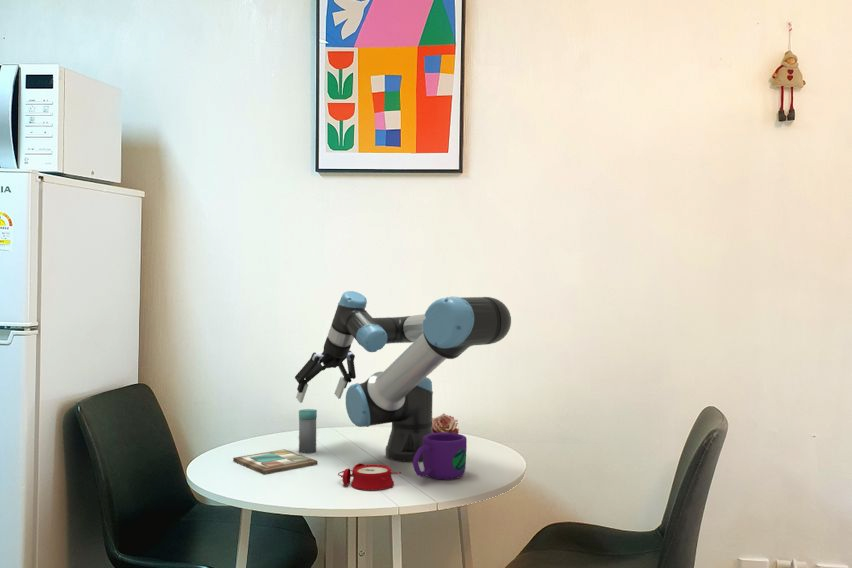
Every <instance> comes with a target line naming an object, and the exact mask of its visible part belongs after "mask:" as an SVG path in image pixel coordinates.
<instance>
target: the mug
mask: <svg viewBox="0 0 852 568" xmlns="http://www.w3.org/2000/svg"><path fill="white" fill-rule="evenodd" d="M467 448H468V447H467V436H465V435H463V434H460V433H458V434H456V433H432V434H428V435H425V436H424V437H423V445H422V446H421V447H420V448H419V449H418V450H417V452H416V454H415V456H414V459H413V462H412V465H413V470H414V472H415V474H416V475H417V476H419V477H428V478H430V479H433V480H440V481H441V480H442V481H443V480H444V481H449V480H450V481H451V480H457V479H459V478H461V477H462V476H463V475H464V474H465V472H466V471H465V470H466V466H467ZM422 452H423V461H422V465H423V470H421V467H420V466H419V465H420V464H419V462H420V461H419V459H420V456H421V454H422Z"/></svg>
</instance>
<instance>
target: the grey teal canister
mask: <svg viewBox="0 0 852 568" xmlns="http://www.w3.org/2000/svg"><path fill="white" fill-rule="evenodd" d="M317 412H318V411H317V409H311V408H306V409H305V408H304V409H299V410H298V453H299V454H314V453H317V418H318V417H317V415H318V414H317Z"/></svg>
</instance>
